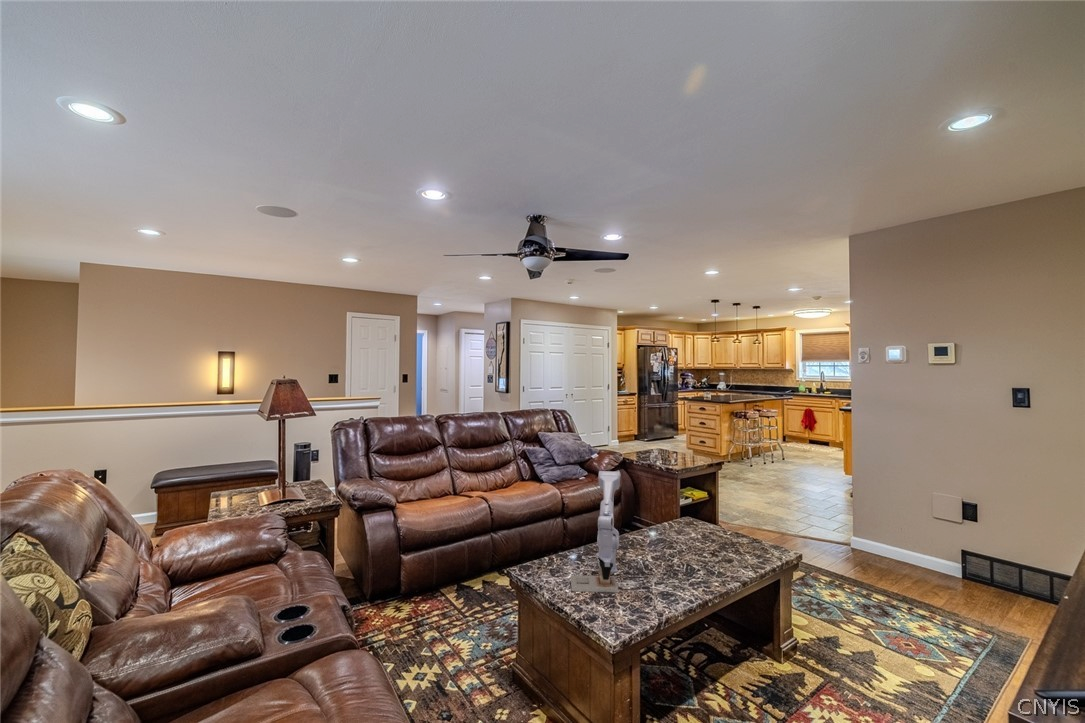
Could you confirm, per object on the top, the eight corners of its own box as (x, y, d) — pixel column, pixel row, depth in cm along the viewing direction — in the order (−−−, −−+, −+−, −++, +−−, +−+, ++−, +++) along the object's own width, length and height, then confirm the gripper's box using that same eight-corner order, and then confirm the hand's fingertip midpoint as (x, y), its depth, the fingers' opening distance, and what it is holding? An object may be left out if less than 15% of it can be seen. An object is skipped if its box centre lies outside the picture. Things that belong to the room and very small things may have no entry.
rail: (570, 579, 194) (570, 574, 194) (614, 581, 194) (614, 575, 194) (571, 591, 184) (571, 585, 184) (618, 592, 184) (618, 587, 184)
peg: (599, 581, 191) (599, 562, 191) (608, 582, 191) (608, 563, 191) (600, 586, 187) (600, 566, 187) (609, 586, 187) (610, 567, 187)
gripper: (594, 537, 196) (594, 569, 196) (597, 550, 182) (597, 584, 182) (610, 538, 196) (610, 569, 196) (615, 551, 182) (614, 585, 181)
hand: (605, 576), depth 189 cm, fingers closed on peg, 4 cm apart
